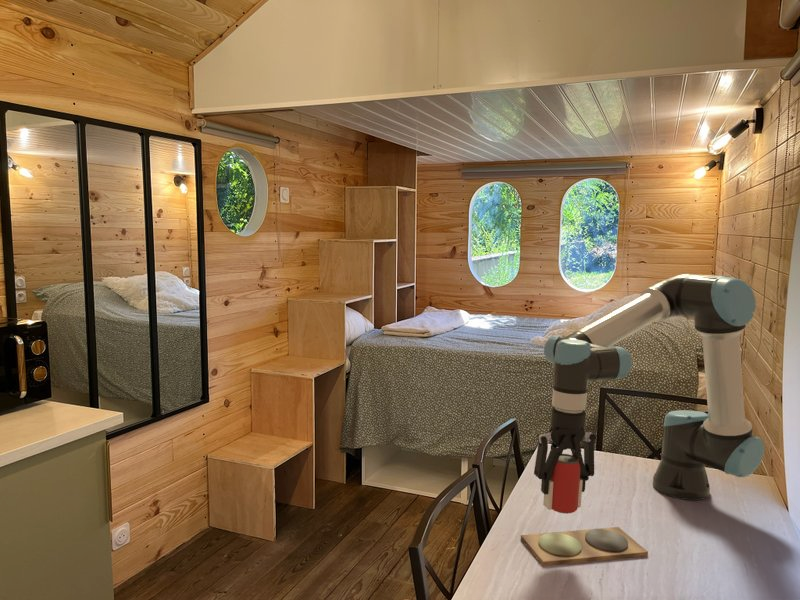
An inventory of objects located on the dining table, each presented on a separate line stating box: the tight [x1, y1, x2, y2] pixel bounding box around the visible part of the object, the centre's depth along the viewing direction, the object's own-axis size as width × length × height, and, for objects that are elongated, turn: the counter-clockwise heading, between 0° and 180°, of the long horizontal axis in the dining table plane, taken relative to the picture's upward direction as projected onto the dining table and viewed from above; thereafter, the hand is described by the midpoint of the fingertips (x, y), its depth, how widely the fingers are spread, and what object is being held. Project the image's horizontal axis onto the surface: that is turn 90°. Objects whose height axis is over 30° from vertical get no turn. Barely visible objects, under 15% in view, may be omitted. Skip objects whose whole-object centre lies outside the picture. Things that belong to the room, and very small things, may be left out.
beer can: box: [551, 453, 580, 515], centre depth 140 cm, size 7×7×12 cm
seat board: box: [520, 526, 649, 567], centre depth 143 cm, size 26×12×2 cm, turn 103°
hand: (562, 505), depth 141 cm, fingers closed on beer can, 6 cm apart
